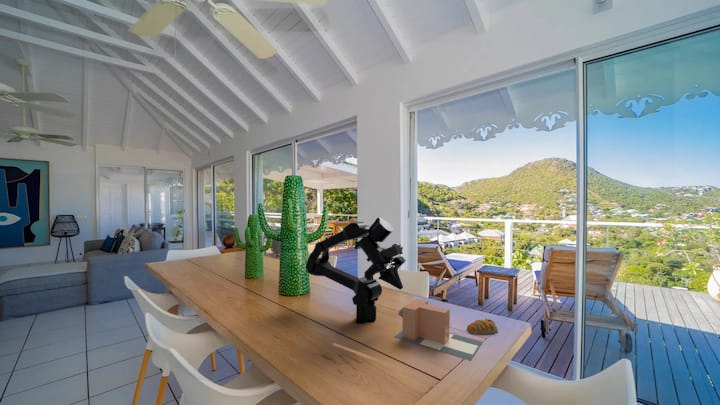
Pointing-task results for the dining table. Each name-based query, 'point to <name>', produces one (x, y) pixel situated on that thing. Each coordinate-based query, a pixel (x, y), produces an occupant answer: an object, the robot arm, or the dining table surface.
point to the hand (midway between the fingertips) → (401, 288)
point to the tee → (425, 321)
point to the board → (450, 345)
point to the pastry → (482, 327)
